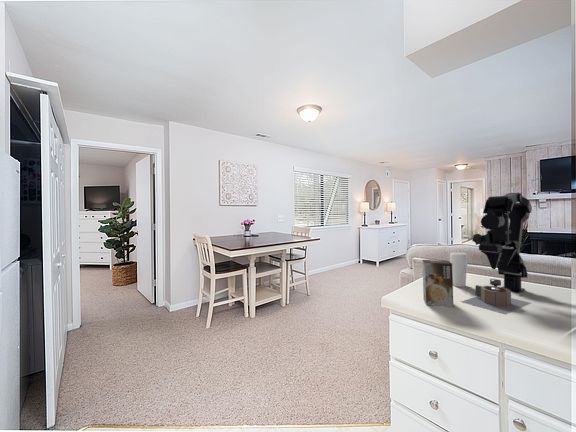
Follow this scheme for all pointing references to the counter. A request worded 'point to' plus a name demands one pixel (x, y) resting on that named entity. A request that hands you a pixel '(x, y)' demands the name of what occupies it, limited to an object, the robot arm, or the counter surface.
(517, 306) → the mat
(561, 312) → the counter surface
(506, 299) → the brown octagonal ring
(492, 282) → the silver stemmed round piece
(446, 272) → the coffee box
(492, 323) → the counter surface
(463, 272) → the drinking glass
